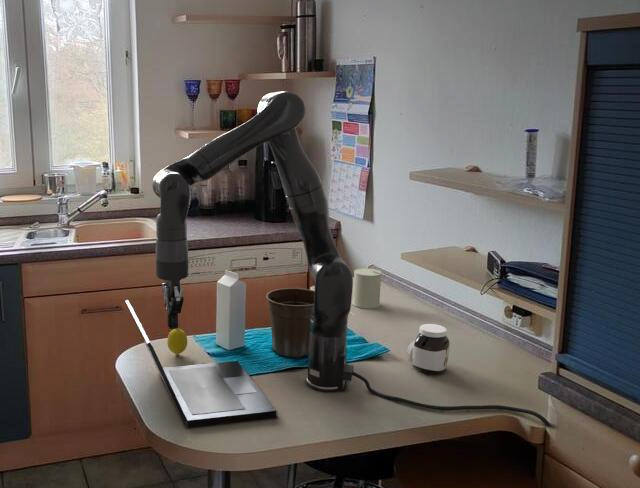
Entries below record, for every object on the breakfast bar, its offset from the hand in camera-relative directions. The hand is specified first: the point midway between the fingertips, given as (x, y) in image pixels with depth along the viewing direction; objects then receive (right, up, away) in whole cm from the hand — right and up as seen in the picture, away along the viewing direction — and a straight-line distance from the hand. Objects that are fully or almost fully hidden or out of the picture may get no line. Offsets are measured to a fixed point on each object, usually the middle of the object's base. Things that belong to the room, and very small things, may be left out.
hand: (172, 327), depth 174 cm
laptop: (+10, -17, +7) cm, 21 cm away
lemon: (0, -12, +31) cm, 34 cm away
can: (+63, -2, +77) cm, 99 cm away
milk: (+15, -10, +39) cm, 43 cm away
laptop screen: (-4, -7, +1) cm, 8 cm away
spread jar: (+67, -14, +25) cm, 73 cm away
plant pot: (+33, -11, +36) cm, 50 cm away
